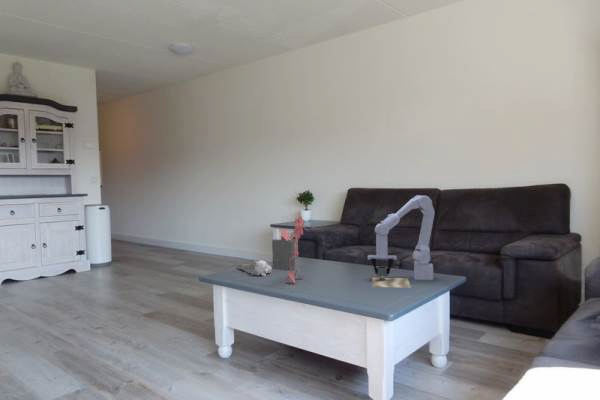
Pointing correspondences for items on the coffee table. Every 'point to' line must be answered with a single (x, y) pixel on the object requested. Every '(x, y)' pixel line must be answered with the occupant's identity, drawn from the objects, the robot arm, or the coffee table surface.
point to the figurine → (297, 232)
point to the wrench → (249, 267)
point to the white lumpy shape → (263, 268)
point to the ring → (382, 271)
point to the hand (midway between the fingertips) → (382, 273)
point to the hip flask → (283, 254)
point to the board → (391, 282)
